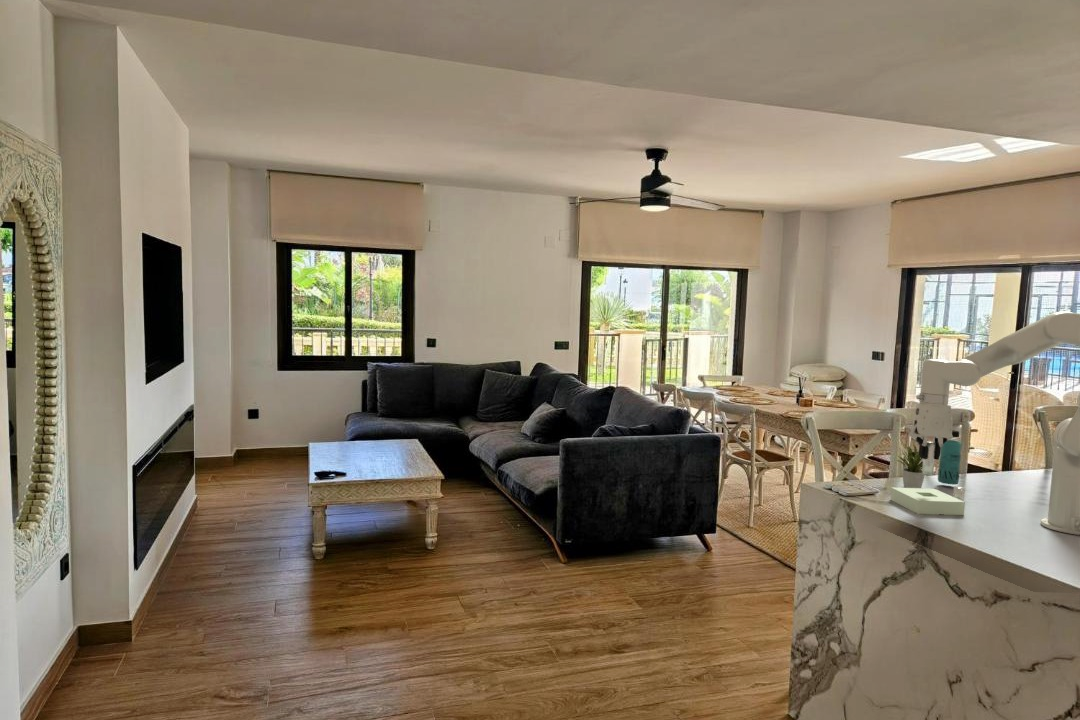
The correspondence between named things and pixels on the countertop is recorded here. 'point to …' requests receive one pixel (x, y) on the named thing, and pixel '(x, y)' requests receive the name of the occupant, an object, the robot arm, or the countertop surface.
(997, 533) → the countertop surface
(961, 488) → the short pin
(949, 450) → the beverage bottle
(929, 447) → the tall pin
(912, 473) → the house plant
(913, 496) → the hole block
